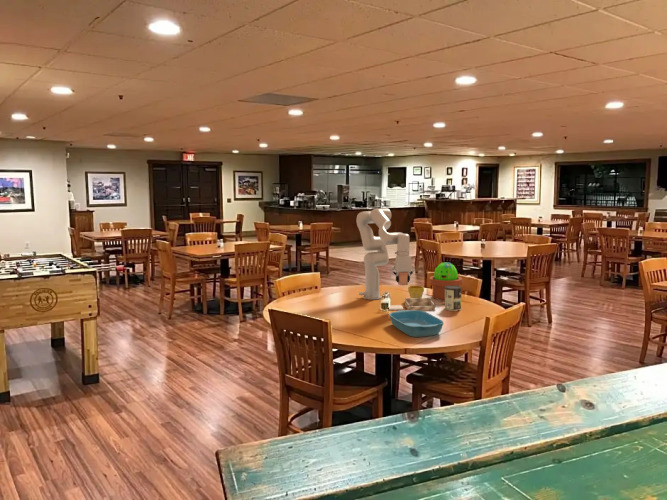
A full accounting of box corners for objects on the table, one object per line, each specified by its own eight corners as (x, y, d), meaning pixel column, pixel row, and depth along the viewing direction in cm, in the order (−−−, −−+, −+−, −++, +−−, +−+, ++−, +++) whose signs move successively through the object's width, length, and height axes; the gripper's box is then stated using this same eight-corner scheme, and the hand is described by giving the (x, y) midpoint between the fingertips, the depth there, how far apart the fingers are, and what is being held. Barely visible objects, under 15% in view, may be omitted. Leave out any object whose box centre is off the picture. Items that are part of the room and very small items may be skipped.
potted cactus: (432, 293, 376) (433, 258, 373) (463, 295, 368) (464, 259, 365) (426, 299, 356) (426, 263, 353) (459, 302, 348) (460, 264, 345)
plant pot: (423, 299, 357) (423, 285, 356) (424, 302, 347) (424, 288, 345) (407, 299, 358) (407, 285, 357) (408, 302, 348) (408, 288, 347)
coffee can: (460, 307, 334) (461, 285, 332) (461, 311, 324) (461, 288, 322) (444, 306, 336) (444, 285, 334) (444, 310, 326) (444, 288, 324)
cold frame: (408, 310, 327) (408, 302, 326) (405, 305, 340) (405, 298, 339) (434, 310, 328) (435, 302, 327) (430, 305, 340) (430, 297, 339)
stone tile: (389, 310, 329) (389, 308, 329) (387, 306, 338) (387, 305, 337) (403, 310, 329) (403, 308, 329) (401, 306, 338) (401, 305, 338)
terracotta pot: (398, 285, 328) (398, 272, 327) (396, 283, 335) (396, 270, 333) (409, 285, 328) (409, 272, 327) (407, 283, 335) (407, 270, 334)
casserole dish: (383, 323, 301) (383, 310, 300) (419, 319, 307) (419, 307, 306) (410, 341, 266) (410, 328, 265) (450, 337, 272) (450, 324, 271)
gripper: (390, 254, 324) (390, 283, 327) (418, 254, 325) (417, 282, 328) (388, 252, 332) (388, 280, 335) (415, 252, 333) (415, 280, 335)
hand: (402, 281), depth 331 cm, fingers closed on terracotta pot, 6 cm apart
